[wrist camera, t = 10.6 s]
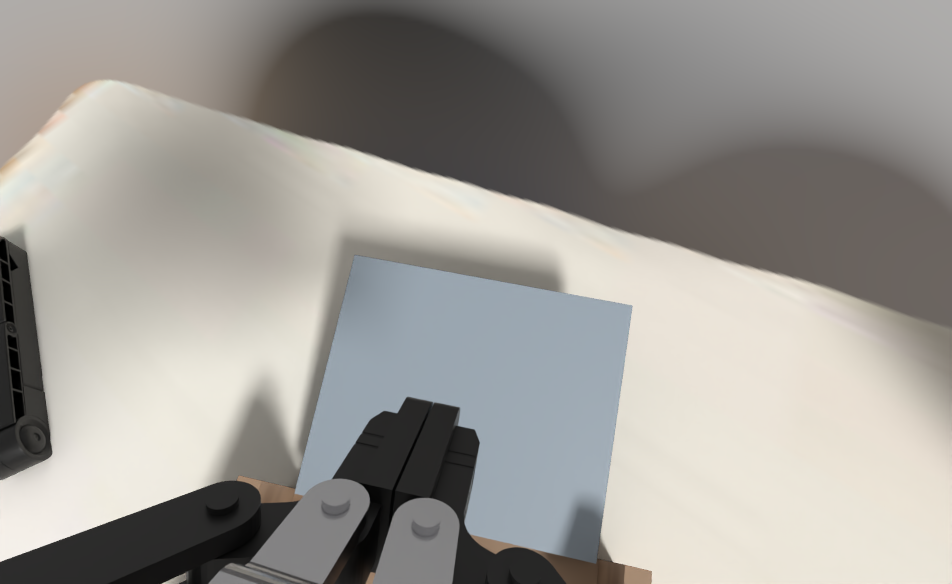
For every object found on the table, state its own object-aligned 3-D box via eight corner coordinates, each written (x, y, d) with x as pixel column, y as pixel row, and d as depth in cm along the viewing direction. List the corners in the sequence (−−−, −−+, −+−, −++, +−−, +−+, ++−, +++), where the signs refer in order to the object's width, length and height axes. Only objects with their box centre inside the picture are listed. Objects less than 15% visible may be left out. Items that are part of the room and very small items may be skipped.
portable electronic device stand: (58, 462, 30) (17, 455, 27) (13, 483, 29) (-33, 478, 26) (30, 250, 37) (-4, 229, 34) (-6, 264, 36) (-44, 243, 34)
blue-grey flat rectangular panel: (596, 563, 25) (632, 305, 27) (294, 493, 26) (354, 254, 29) (589, 550, 27) (623, 310, 29) (308, 485, 28) (364, 263, 31)
